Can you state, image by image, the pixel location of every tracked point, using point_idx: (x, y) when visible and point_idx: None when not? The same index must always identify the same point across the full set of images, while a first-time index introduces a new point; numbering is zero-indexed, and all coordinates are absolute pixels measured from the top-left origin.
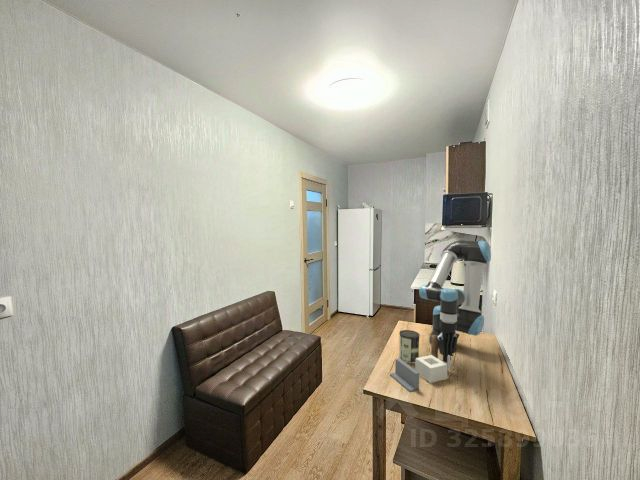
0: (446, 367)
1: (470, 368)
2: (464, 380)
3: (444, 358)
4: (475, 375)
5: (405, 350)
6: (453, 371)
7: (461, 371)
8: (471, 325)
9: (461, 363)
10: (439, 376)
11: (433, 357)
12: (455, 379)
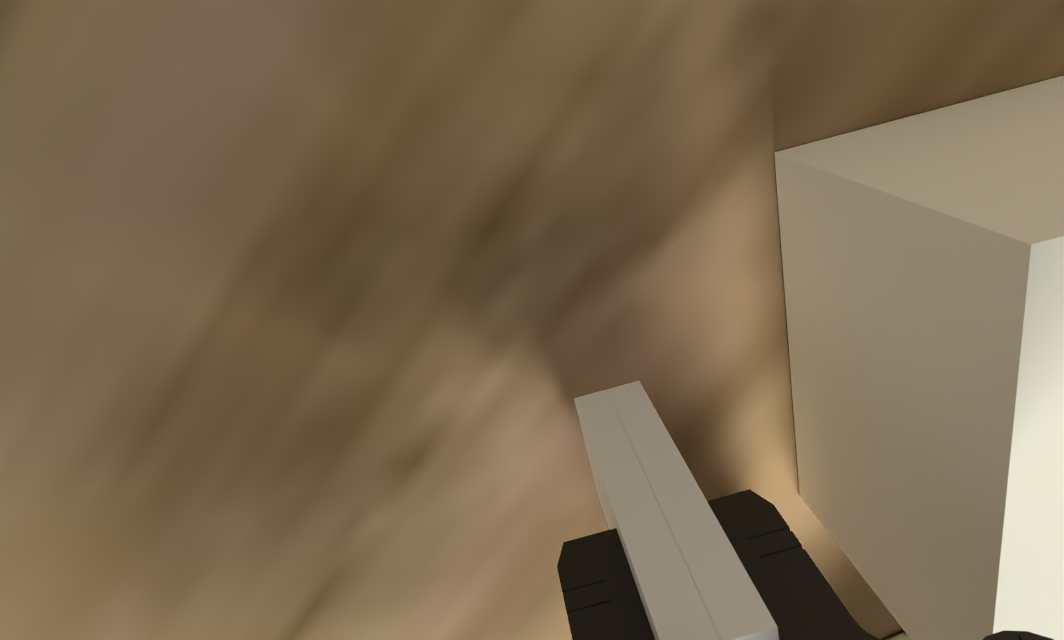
0: (985, 205)
1: (23, 475)
2: (430, 46)
3: (810, 582)
4: (35, 218)
5: None
6: (459, 392)
7: (290, 384)
8: None
9: (133, 627)
10: (1050, 108)
11: (1053, 627)
12: (609, 111)
